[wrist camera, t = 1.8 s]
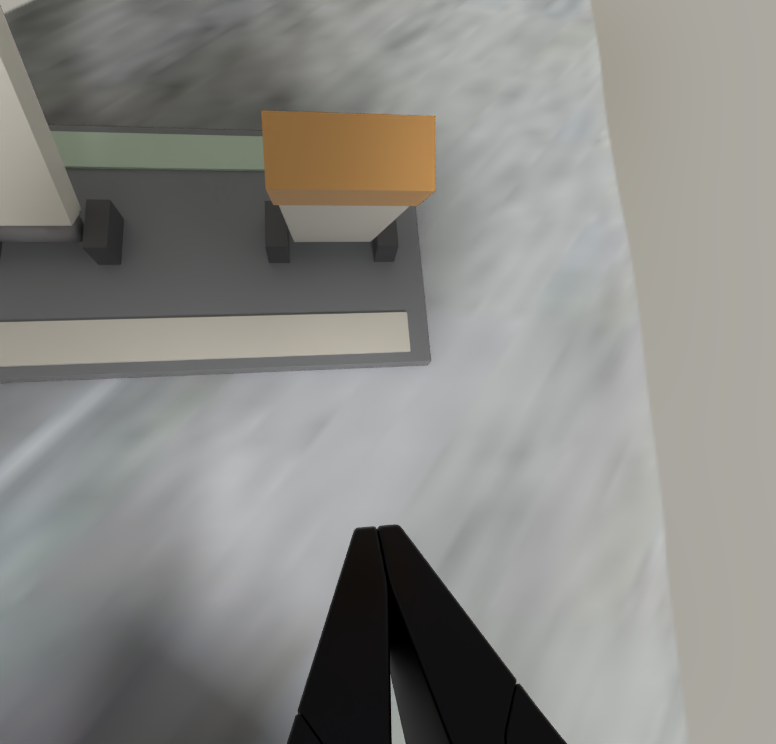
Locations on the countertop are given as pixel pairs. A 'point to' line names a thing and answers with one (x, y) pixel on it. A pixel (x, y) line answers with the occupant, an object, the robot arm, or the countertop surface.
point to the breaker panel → (199, 271)
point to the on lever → (30, 161)
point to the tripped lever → (346, 171)
